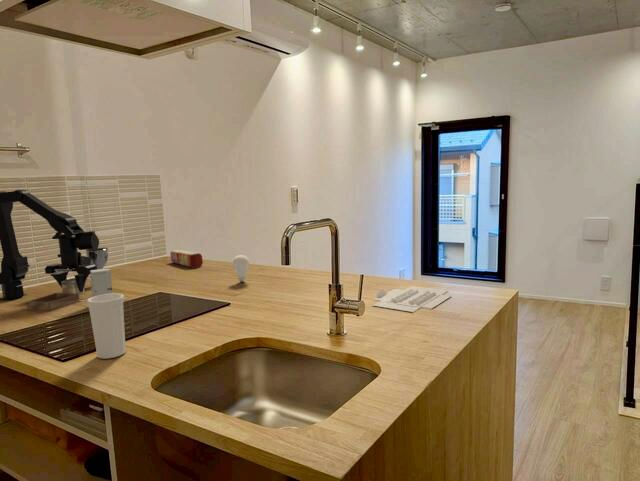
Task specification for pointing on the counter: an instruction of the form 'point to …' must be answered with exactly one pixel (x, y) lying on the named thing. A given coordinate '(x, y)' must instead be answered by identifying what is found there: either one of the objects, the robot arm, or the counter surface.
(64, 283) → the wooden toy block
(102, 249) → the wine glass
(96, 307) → the cup
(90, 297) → the card
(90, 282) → the dish
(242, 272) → the light bulb
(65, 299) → the open box
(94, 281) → the skincare box
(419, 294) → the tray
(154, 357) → the counter surface
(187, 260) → the snack package
